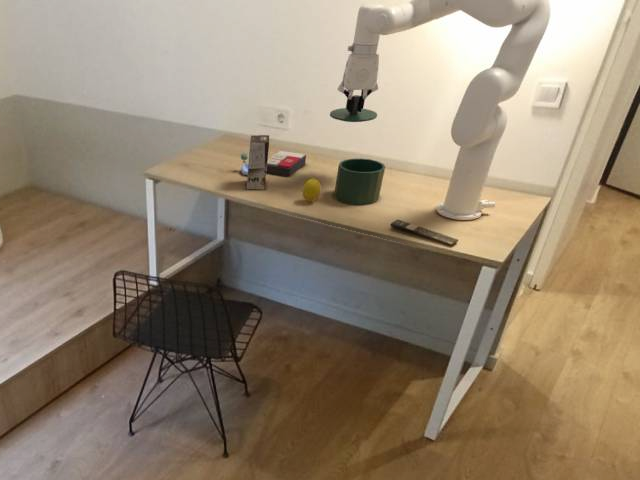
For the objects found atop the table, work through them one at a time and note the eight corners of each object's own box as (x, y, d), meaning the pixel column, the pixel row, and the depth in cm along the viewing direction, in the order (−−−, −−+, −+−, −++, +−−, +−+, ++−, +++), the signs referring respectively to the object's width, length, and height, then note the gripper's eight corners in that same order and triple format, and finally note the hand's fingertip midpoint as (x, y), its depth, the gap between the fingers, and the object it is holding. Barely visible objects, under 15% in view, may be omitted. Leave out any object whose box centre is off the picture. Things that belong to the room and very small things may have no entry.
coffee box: (264, 190, 215) (269, 142, 206) (246, 189, 217) (249, 142, 207) (265, 180, 222) (269, 134, 213) (247, 180, 224) (251, 134, 214)
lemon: (321, 201, 205) (325, 177, 200) (312, 206, 202) (316, 182, 197) (306, 197, 208) (309, 174, 203) (297, 202, 205) (301, 179, 200)
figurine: (238, 170, 233) (239, 152, 229) (255, 168, 233) (257, 150, 229) (243, 177, 227) (245, 158, 222) (261, 175, 227) (263, 157, 223)
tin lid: (370, 110, 213) (374, 90, 209) (381, 123, 201) (386, 101, 197) (325, 112, 214) (328, 91, 210) (334, 124, 202) (337, 102, 198)
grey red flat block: (262, 162, 228) (279, 149, 237) (261, 173, 230) (278, 160, 239) (290, 166, 222) (306, 153, 231) (289, 178, 225) (305, 164, 234)
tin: (372, 188, 212) (378, 157, 205) (383, 204, 201) (390, 172, 194) (330, 189, 213) (335, 159, 207) (338, 205, 202) (344, 173, 195)
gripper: (341, 52, 193) (331, 114, 204) (394, 51, 192) (381, 113, 203) (336, 48, 199) (327, 108, 210) (387, 46, 197) (375, 107, 209)
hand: (354, 110), depth 206 cm, fingers closed on tin lid, 2 cm apart
